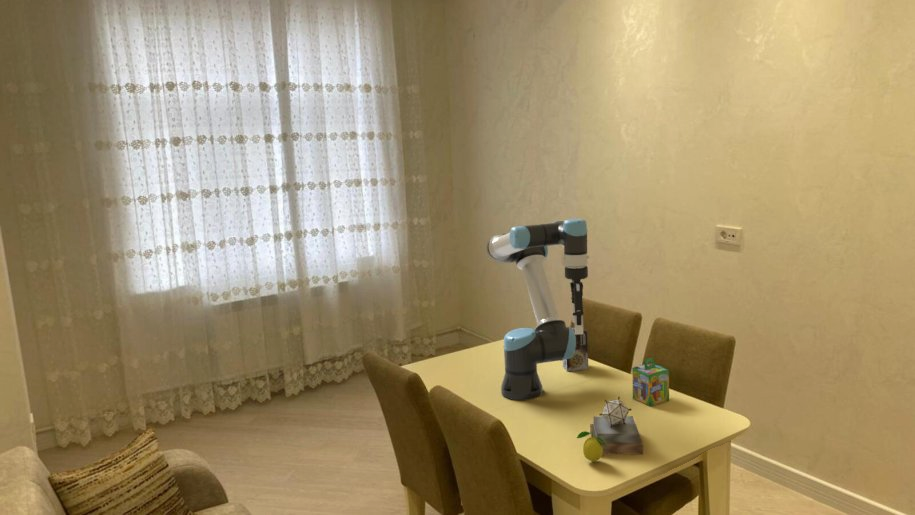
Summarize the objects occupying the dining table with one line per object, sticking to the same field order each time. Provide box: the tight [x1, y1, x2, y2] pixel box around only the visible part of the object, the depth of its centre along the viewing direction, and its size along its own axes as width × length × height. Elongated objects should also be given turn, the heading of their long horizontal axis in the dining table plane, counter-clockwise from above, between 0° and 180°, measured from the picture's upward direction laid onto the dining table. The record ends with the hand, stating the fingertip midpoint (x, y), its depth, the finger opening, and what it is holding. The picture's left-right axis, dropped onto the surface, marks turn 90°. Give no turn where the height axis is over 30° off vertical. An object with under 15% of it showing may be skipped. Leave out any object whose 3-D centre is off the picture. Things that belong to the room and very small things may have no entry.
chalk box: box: [631, 357, 670, 407], centre depth 232 cm, size 9×9×15 cm
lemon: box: [576, 429, 607, 463], centre depth 191 cm, size 7×6×10 cm
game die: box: [598, 396, 633, 428], centre depth 201 cm, size 9×8×10 cm
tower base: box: [589, 415, 644, 455], centre depth 202 cm, size 14×14×6 cm
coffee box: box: [561, 326, 589, 372], centre depth 267 cm, size 9×6×16 cm
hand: (577, 328), depth 224 cm, fingers open, 13 cm apart
